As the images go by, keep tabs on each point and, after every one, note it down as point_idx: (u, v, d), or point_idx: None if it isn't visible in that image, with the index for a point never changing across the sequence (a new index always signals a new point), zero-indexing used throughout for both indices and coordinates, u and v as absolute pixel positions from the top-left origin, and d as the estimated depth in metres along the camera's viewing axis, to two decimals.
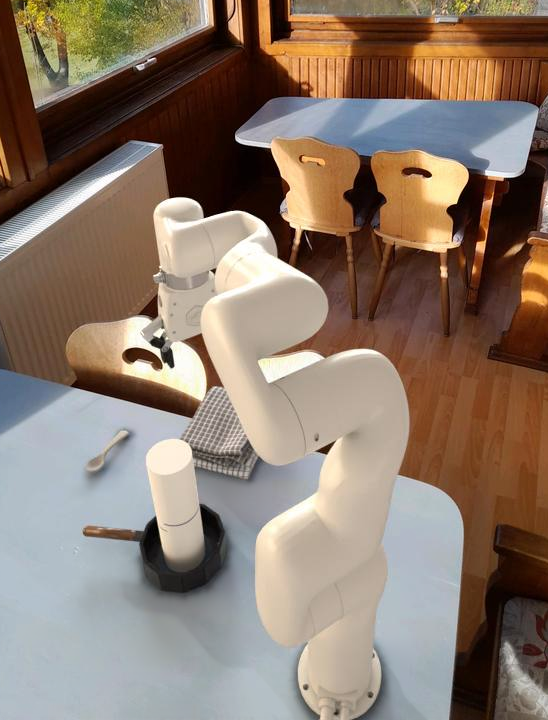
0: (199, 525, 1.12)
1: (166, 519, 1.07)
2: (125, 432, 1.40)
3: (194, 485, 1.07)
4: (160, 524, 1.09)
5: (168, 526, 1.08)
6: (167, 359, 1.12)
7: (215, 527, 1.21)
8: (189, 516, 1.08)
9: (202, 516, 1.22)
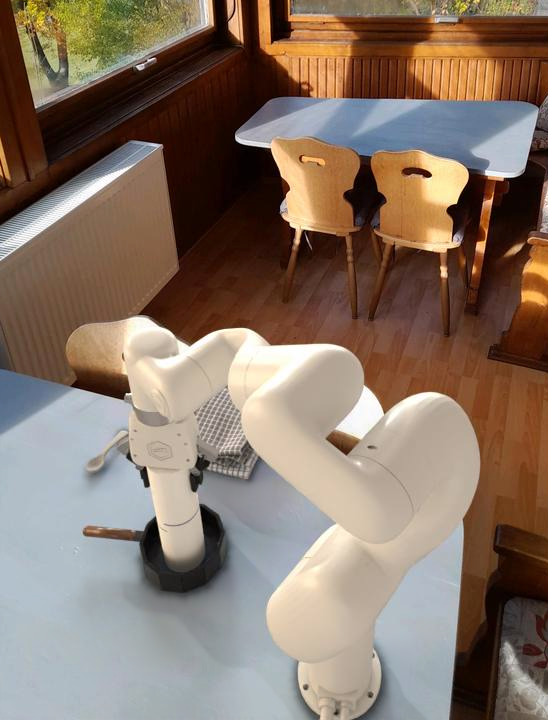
0: (199, 525, 1.12)
1: (166, 519, 1.07)
2: (125, 432, 1.40)
3: None
4: (160, 524, 1.09)
5: (168, 526, 1.08)
6: None
7: (215, 527, 1.21)
8: (189, 516, 1.08)
9: (202, 516, 1.22)
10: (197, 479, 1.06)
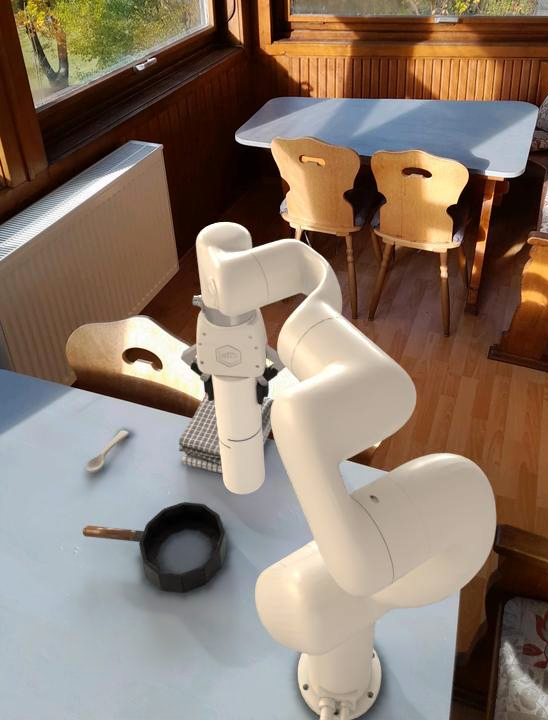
0: (261, 444, 1.09)
1: (230, 434, 1.04)
2: (125, 432, 1.40)
3: None
4: (223, 440, 1.06)
5: (232, 442, 1.05)
6: None
7: (215, 527, 1.21)
8: (253, 431, 1.05)
9: (202, 516, 1.22)
10: (263, 391, 1.02)
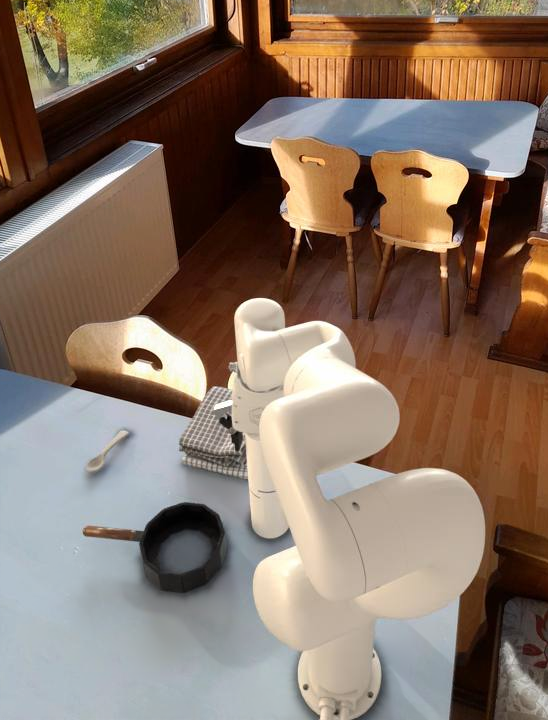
0: None
1: (261, 486, 1.13)
2: (125, 432, 1.40)
3: None
4: (253, 491, 1.15)
5: (262, 493, 1.14)
6: None
7: (215, 527, 1.21)
8: None
9: (202, 516, 1.22)
10: None
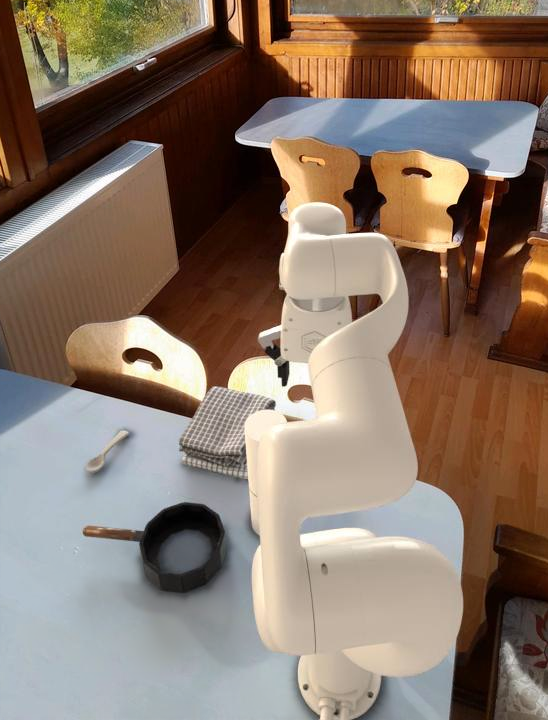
0: None
1: None
2: (125, 432, 1.40)
3: None
4: (253, 491, 1.15)
5: None
6: (281, 374, 0.99)
7: (215, 527, 1.21)
8: None
9: (202, 516, 1.22)
10: None
